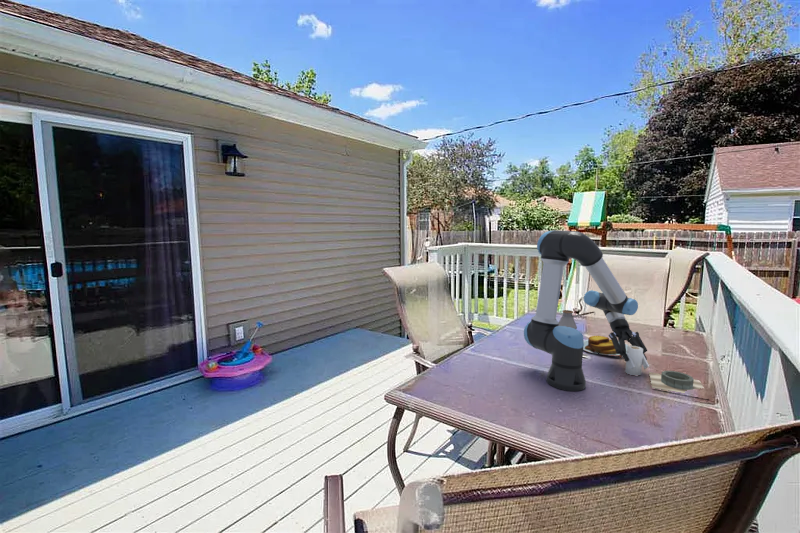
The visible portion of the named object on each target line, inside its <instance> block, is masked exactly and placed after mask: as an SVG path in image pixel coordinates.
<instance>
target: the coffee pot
mask: <svg viewBox="0 0 800 533" xmlns="http://www.w3.org/2000/svg"><path fill="white" fill-rule="evenodd" d="M573 314H574V311H573V310H568V309H564V310H562V316H561V318H560V320H559V321H558V322H559V325H558V326H566V327H571V328H574V329H576V330H578V326H577V324H576V322H575V318H576V317H581V316H586V315H590V314H591V315H592V314H594V315H595V316H596V313H595V311H589V312H583V313H580V314H576V315H573Z"/></svg>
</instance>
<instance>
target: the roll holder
mask: <svg viewBox="0 0 800 533" xmlns="http://www.w3.org/2000/svg"><path fill="white" fill-rule="evenodd" d="M649 376H650V378H649V382H650V381H651V382H650V386H651V385H652V387H651V389H652V388H655V389H661V390H668V391H675V392H681V393H685V391H687V390H693V389H700V388H701V389H702V388H704V389H705V387H704V385H703V383H702V382H701V380H698V379H694V377H693V376H691V375H689V374H688V373H685V372H684V373H683V372H681V371H675V370H663V371H661V373H657V372H651V371H648V377H649Z"/></svg>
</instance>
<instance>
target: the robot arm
mask: <svg viewBox="0 0 800 533" xmlns="http://www.w3.org/2000/svg"><path fill="white" fill-rule="evenodd" d="M536 250H538V253H539V255H540V261H542V262H543V263H542V264H543V266H542V270H541V278H540V284H539V291H538V297H537V303H536V304H537V305H536V310H535V315H533V316H532V317H531V319H530V321H529V322H527V323H526V325H525V326H524V329H523V337H524V340H525V342H526V343H527V344H528V345H529V346H531V347H532V348H534V349H537V350H539V351H542V352H544V353H547V354H550V355H551V365H550V367H549V369H548V372H547V374H546V383H547V384H548V385H550V386H551V387H553V388H556V389H557V390H562V391H567V392H568V391H569V392H579V391H583V390H585V389H586V386H587V381H586V378H585V374H584V371H583V358H584V357H583V355H584V350H583V346H584V342H583V340H584V335H583V333H582V332H581V331H580V330H578V329H574V328H571V327H566V326H558V325H559V321H558V320H557V312H558V306H559V302H560V295H561V287H562V283H563V282H562V281H563V276H564V270H565V265H567V264H569V261H570V259H573V260H575V261H577V262H578V263H579V265H580V266H582V267H585V269H586V271H587V272H588V273H589V275H590V276H591V278H592V279H593V281H594V282H595V283H596V285H597V287H598V288H599V290H600V292H599V291H598V290H597V291H596V290H592V289H591V290H587V292H586V293H585V294H584V297H583V301H584V303H585V304H586V305H587V306H589V307H592V308H595V309H599V310H600V311H603V314H604V316H605V319H606V320H607V323H608V324H609V327H610V329H611V332H610V333H609V334H608V338H609V339H610V340H612V342H613V345H614V348H615V350H616V353H617V354H620V355H621V356H620V357H623V359H624V361H625V363H626V362H627V364H628V366H629V368H630V369H633V368H634V367H635V366H634V363H633V361H632V359H631V357H630V355H629V353H626V346H625V344H626V342H627V343H629V344H630V346H638V347H641V348H643V358H642V368H643V369H644V370H646V369H648V368H650V365H649V363H648V358H647V356H646V354H645V353H646V352H648V349H647V347H646V345H645V343H644V341H643V340H642V338H641V337H640V333H639V332H638V331H635V332H634V331H632V329H630V324H629V322H628V320H627V318H626V317H625V316H627V315H628V316H633V315H635V314H636V312H638V309H639V304H638V301H637V300H636V299H634V298H632V297H628V295H627V294H626V292H625V291H624V289H623V288H622V285H620V283H619V281H618V280H617V278H616V277H615V275H614V274H613V272H612V271H611V269H610V267H609V266H608V264H607V263H606V261H605V259H604V258H603V257H604V253H603V252H602V250H601V249H600V247H599V246H598V244H597V243H596V242H594V240H593V239H591V238H590V237H589V236H588V235H586V234H584V233H583V232H580V231H577V230H548V231H546V232H544V233H542V234H541V235H540V237H539V238H538V240H537V244H536ZM619 344H620V345H619Z"/></svg>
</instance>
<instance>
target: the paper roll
mask: <svg viewBox="0 0 800 533" xmlns="http://www.w3.org/2000/svg"><path fill="white" fill-rule="evenodd" d="M627 353H629V355H630V357H631V359H632V361H633V363H634V366H635V367H634V368H633V369H630V368H629V366H628V364H627V362H626V361H625V374H626V373H627V375H628V374H630V375H629V376H631V375H641V376H642V368H643V365H642V358H643V348H641V347H638V346H632V345H628V346H627Z"/></svg>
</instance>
